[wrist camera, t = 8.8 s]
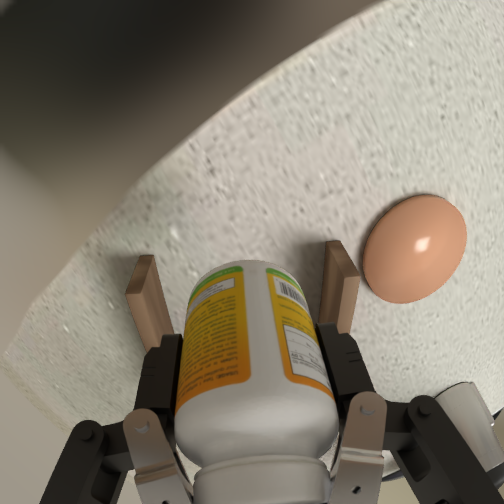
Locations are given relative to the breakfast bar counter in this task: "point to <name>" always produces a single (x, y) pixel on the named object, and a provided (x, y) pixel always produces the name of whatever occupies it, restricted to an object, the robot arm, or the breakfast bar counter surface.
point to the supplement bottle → (254, 390)
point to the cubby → (158, 320)
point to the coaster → (414, 249)
